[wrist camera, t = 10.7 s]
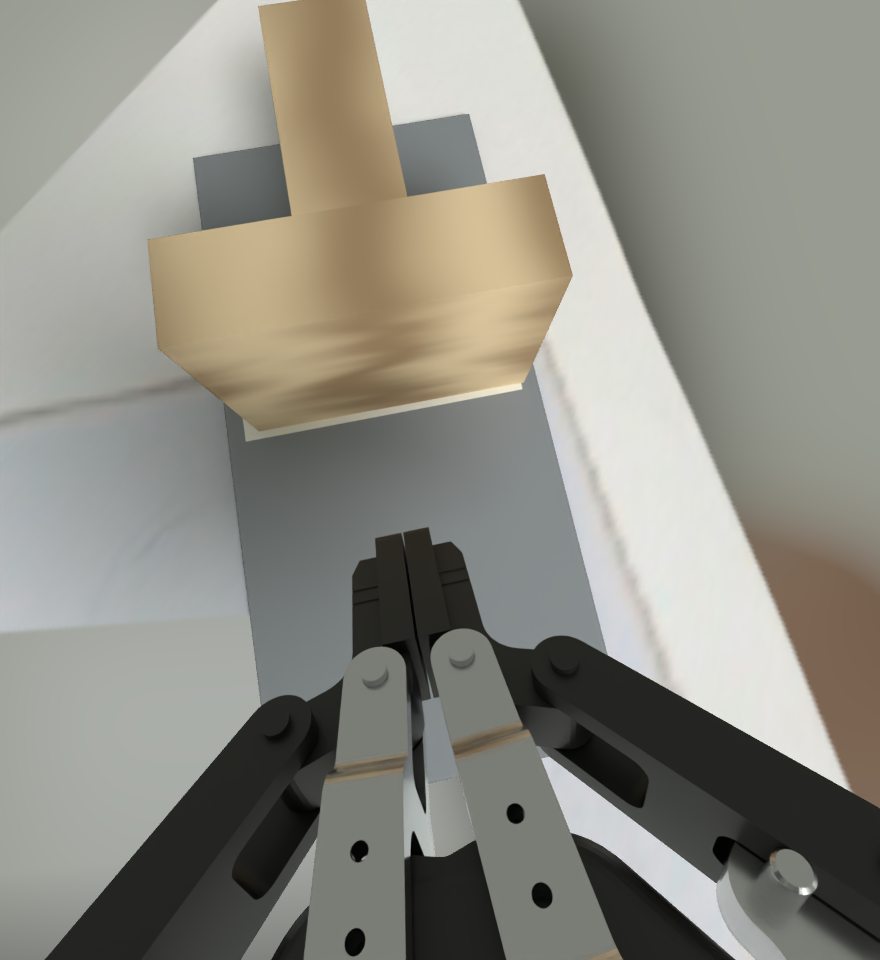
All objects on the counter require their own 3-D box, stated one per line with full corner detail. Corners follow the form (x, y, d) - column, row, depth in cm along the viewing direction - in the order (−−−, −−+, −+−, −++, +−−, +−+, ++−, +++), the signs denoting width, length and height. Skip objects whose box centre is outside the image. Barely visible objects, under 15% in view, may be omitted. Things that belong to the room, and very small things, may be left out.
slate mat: (278, 813, 19) (275, 818, 19) (197, 164, 25) (192, 157, 24) (624, 735, 20) (629, 738, 19) (468, 121, 25) (468, 113, 25)
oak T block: (259, 431, 22) (157, 348, 14) (229, 207, 24) (127, 25, 16) (523, 382, 22) (572, 275, 14) (471, 168, 24) (488, -28, 16)
